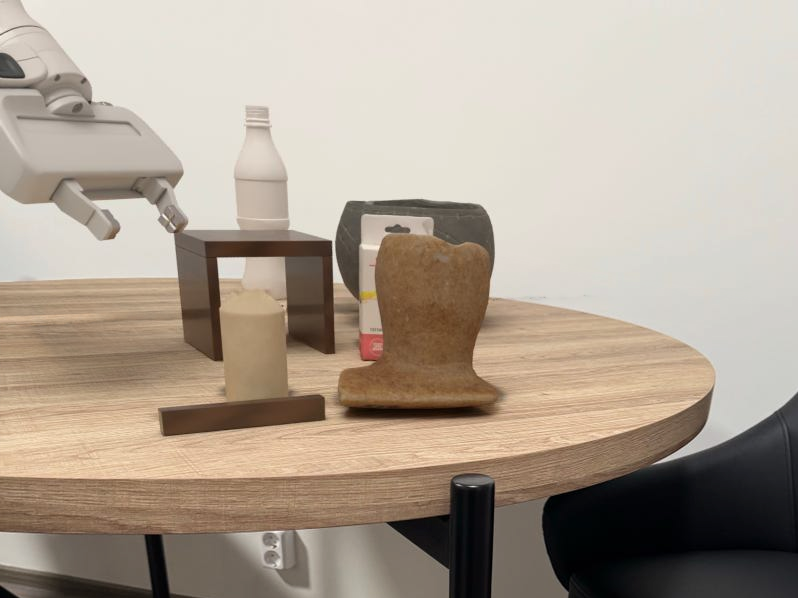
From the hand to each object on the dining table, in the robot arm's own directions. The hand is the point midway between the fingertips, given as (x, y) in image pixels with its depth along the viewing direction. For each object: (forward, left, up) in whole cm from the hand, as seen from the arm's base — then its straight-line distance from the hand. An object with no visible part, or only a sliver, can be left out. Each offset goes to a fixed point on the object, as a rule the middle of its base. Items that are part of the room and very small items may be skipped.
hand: (147, 231), depth 82 cm
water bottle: (+26, +46, -14) cm, 55 cm away
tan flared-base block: (+20, -12, -14) cm, 27 cm away
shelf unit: (+15, +18, -14) cm, 28 cm away
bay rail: (+3, -13, -14) cm, 20 cm away
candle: (+6, -8, -14) cm, 17 cm away
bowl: (+40, +27, -14) cm, 51 cm away
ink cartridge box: (+28, +8, -14) cm, 33 cm away
